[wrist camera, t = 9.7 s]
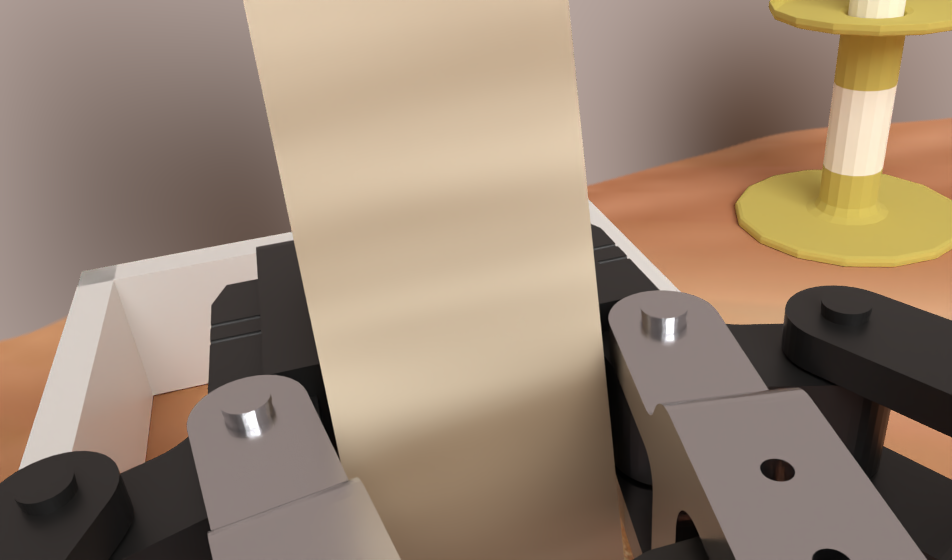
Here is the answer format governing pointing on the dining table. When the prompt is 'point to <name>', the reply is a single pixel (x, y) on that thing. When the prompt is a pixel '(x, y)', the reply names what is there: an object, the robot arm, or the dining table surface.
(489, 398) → the scraper
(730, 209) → the dining table surface
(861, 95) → the candle
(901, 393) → the robot arm
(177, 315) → the box
